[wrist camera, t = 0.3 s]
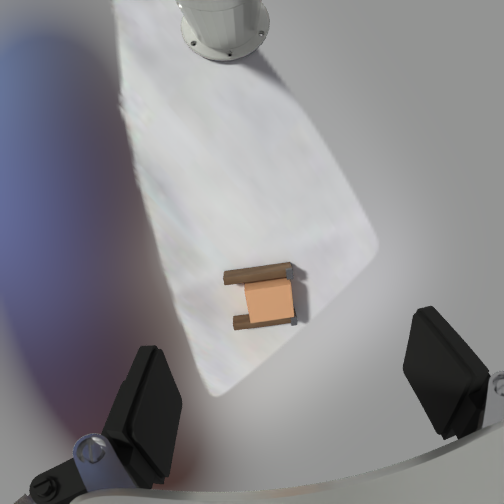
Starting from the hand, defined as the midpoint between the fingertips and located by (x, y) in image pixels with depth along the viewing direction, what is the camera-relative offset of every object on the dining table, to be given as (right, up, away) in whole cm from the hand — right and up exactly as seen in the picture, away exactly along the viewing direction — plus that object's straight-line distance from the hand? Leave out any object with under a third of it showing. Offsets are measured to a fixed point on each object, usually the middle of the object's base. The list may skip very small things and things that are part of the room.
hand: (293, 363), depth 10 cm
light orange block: (+1, -3, +40) cm, 40 cm away
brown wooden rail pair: (0, -3, +40) cm, 40 cm away
